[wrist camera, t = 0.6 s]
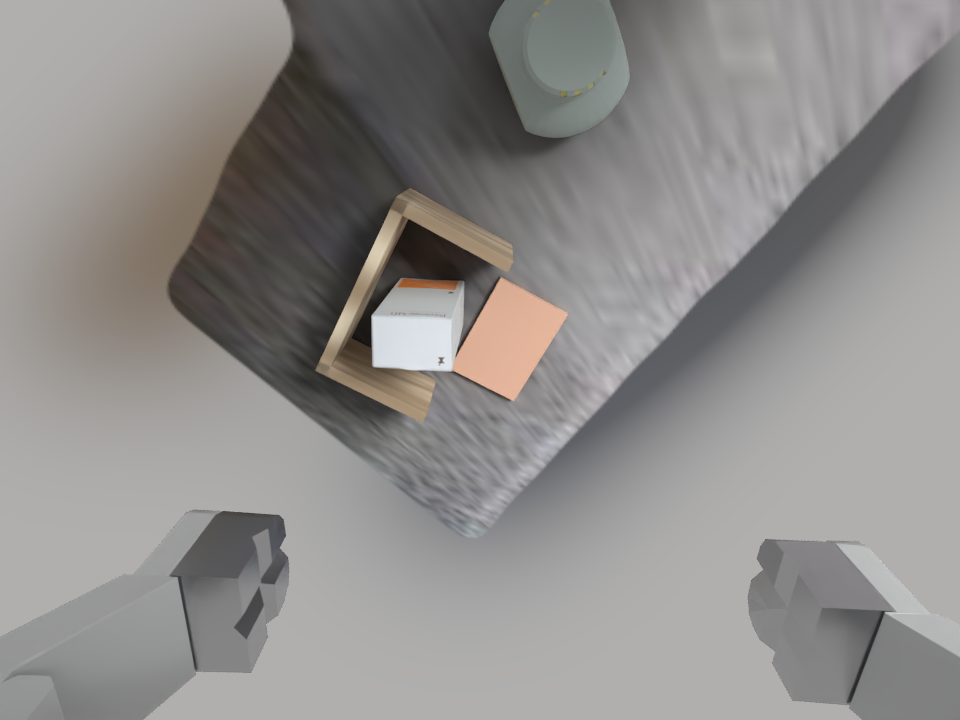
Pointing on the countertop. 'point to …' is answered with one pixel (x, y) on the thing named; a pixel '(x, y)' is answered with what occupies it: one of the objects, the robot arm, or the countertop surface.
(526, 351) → the tile
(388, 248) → the open wooden frame
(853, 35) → the countertop surface
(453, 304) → the skincare box
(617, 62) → the air freshener
